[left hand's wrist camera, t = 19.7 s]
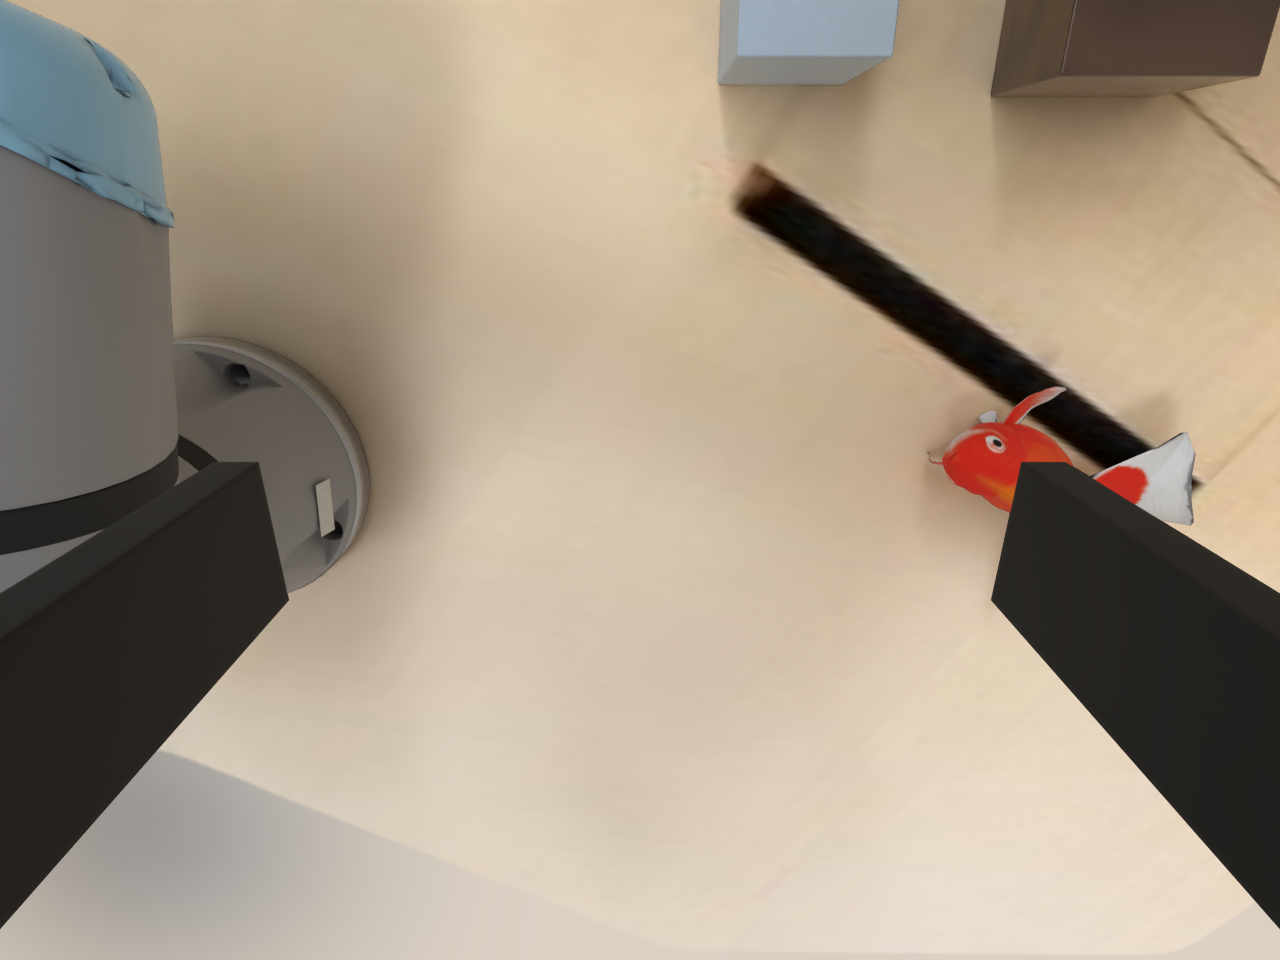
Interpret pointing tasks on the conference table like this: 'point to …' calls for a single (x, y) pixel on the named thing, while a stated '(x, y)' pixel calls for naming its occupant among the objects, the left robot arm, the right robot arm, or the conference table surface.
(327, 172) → the conference table surface
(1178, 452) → the fish
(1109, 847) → the conference table surface
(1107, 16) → the walnut base
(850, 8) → the cap block
